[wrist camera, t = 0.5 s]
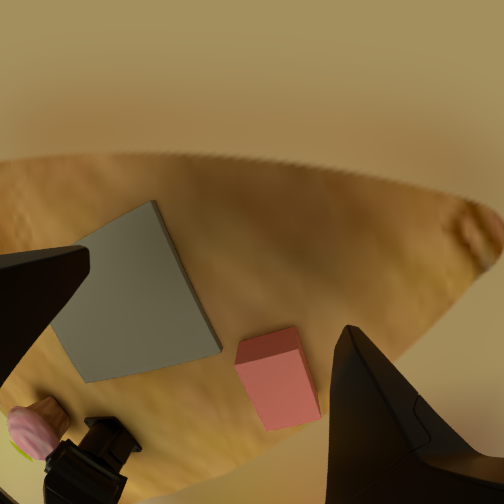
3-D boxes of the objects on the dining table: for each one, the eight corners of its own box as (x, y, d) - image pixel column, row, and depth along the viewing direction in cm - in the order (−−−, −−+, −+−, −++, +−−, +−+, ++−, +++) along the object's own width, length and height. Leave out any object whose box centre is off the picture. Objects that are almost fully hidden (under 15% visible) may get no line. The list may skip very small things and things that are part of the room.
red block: (268, 403, 26) (266, 431, 22) (240, 340, 25) (234, 365, 21) (316, 391, 26) (321, 418, 22) (295, 325, 24) (298, 348, 20)
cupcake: (89, 429, 30) (57, 474, 21) (60, 431, 32) (31, 468, 22) (51, 380, 29) (9, 421, 19) (26, 387, 30) (-10, 422, 21)
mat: (88, 379, 28) (85, 383, 27) (31, 272, 25) (27, 274, 25) (222, 348, 25) (221, 352, 24) (154, 200, 23) (150, 200, 22)
